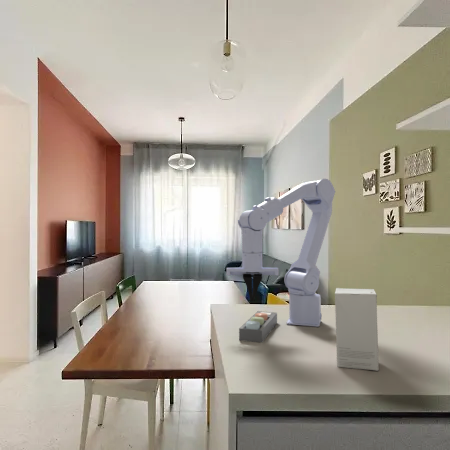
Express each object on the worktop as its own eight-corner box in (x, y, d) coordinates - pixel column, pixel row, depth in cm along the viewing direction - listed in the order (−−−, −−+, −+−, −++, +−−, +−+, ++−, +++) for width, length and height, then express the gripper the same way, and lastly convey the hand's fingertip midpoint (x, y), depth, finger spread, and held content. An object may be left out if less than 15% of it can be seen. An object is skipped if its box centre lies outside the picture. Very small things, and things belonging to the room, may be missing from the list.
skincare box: (376, 361, 77) (376, 288, 77) (379, 372, 71) (378, 294, 71) (336, 356, 80) (335, 286, 80) (335, 367, 73) (334, 291, 74)
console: (277, 322, 108) (277, 312, 108) (262, 342, 89) (262, 330, 89) (257, 320, 110) (257, 310, 110) (239, 340, 91) (239, 328, 91)
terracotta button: (268, 323, 103) (268, 313, 103) (266, 327, 100) (266, 316, 100) (256, 322, 104) (256, 312, 104) (253, 326, 101) (253, 315, 101)
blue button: (261, 333, 94) (261, 321, 94) (257, 337, 90) (257, 325, 90) (248, 332, 95) (248, 320, 95) (244, 335, 92) (244, 324, 92)
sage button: (265, 328, 98) (265, 317, 98) (262, 331, 95) (262, 320, 95) (252, 327, 99) (252, 316, 99) (249, 330, 96) (249, 319, 96)
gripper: (276, 251, 104) (277, 298, 104) (227, 251, 105) (227, 297, 105) (279, 253, 97) (279, 303, 97) (226, 253, 98) (226, 302, 98)
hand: (252, 300), depth 101 cm, fingers closed
